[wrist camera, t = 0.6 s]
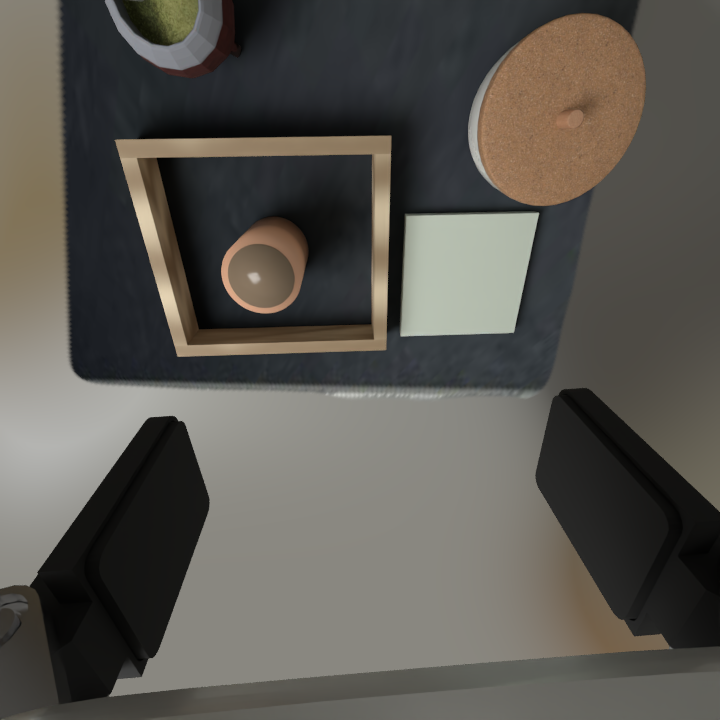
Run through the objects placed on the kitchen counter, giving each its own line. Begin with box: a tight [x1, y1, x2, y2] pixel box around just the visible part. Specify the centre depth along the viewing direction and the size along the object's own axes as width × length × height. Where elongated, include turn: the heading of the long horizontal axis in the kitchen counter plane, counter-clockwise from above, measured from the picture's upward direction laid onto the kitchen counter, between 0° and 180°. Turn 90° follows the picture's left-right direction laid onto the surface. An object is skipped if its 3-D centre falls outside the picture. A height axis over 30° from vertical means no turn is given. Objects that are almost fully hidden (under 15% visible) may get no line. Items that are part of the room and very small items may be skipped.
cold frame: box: [115, 136, 391, 357], centre depth 35 cm, size 18×20×4 cm
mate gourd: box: [105, 0, 241, 78], centre depth 22 cm, size 8×8×15 cm
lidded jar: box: [468, 13, 646, 206], centre depth 28 cm, size 11×11×9 cm
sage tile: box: [400, 211, 539, 336], centre depth 38 cm, size 12×12×1 cm
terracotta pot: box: [221, 217, 309, 313], centre depth 33 cm, size 6×6×8 cm
